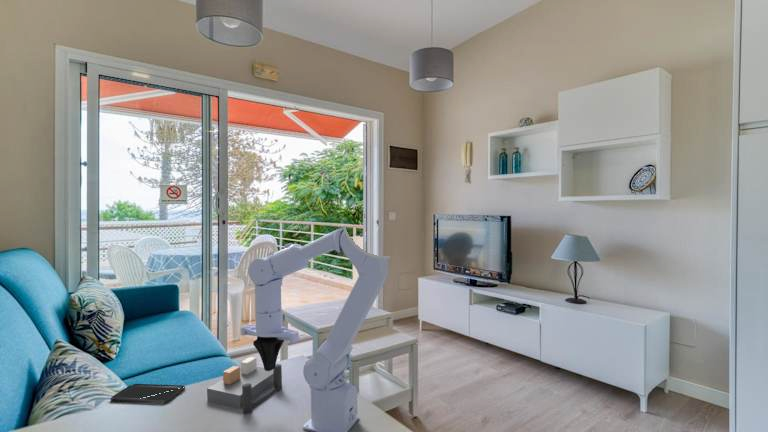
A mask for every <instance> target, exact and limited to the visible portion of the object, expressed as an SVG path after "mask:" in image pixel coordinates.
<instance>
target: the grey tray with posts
mask: <svg viewBox="0 0 768 432" xmlns="http://www.w3.org/2000/svg"><path fill="white" fill-rule="evenodd" d="M257 364H258V363H257V357H253V356H250V357H247V358H245V359H244V360H242V361H241V362H240V379H238V380H237V381H235V382H233V383H232V384H230V385H229V384H224V383H223V378H222V379H221V380H219V381H217V382H216V383H214V384H212V385H210V386H209V387H206V398H207V399H206V400H207V402H211V403H217V404H219V405H220V404H221V405H224V406H229V407H233V408H237V409H243V399H242V385H244V384H247V383H250V384H251V385H252V401H253V400H254V399H256V398H257V397H259V396H260V395H261V394H263V393H264V392H265V391H267V390H269V389H270V388H272V387H274V377H273V369H272V370H271V371H265V369H264V367H261V366H258V365H257Z"/></svg>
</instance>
